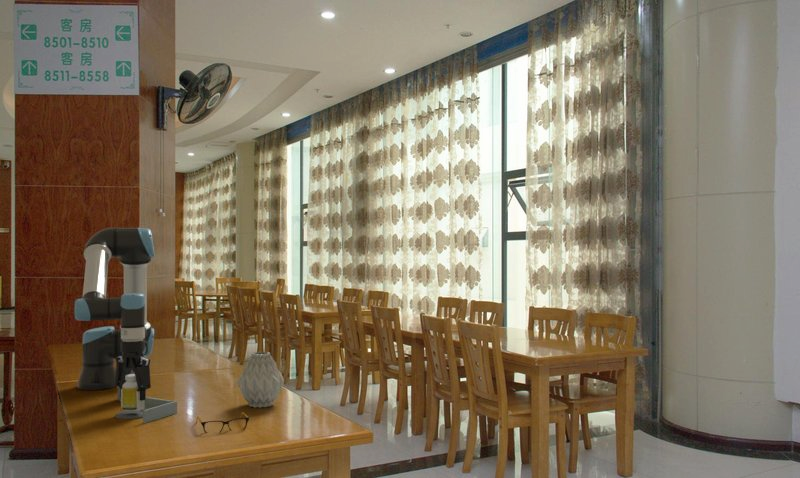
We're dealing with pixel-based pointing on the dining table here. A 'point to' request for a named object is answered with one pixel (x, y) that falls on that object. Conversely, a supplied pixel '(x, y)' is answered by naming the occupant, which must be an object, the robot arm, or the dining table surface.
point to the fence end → (159, 412)
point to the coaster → (129, 415)
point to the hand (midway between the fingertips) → (132, 408)
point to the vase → (260, 380)
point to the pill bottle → (129, 393)
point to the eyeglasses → (224, 422)
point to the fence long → (155, 402)
